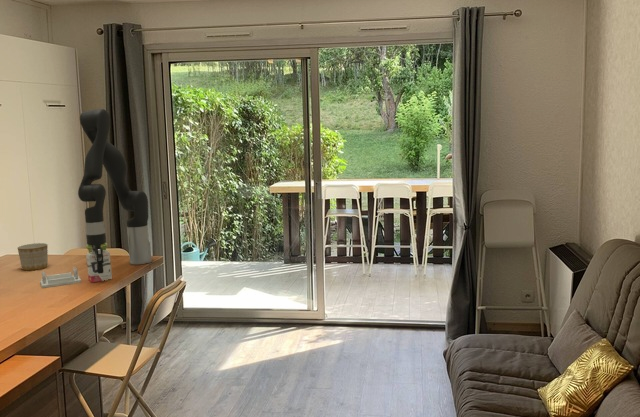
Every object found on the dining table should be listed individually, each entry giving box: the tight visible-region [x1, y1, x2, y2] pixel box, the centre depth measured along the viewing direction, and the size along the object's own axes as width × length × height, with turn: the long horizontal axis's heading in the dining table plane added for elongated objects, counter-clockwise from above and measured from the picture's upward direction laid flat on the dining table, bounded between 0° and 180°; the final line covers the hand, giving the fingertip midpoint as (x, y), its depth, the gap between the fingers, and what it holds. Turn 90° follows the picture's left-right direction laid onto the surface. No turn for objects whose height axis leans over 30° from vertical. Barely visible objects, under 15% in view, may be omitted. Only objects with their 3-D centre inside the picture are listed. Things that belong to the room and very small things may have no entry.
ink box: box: [85, 249, 113, 283], centre depth 271 cm, size 8×5×12 cm, turn 123°
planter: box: [17, 242, 49, 271], centre depth 300 cm, size 13×13×10 cm
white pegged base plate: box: [39, 266, 82, 289], centre depth 270 cm, size 15×11×5 cm
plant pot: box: [86, 242, 108, 253], centre depth 305 cm, size 9×9×9 cm
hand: (99, 271), depth 271 cm, fingers open, 8 cm apart
